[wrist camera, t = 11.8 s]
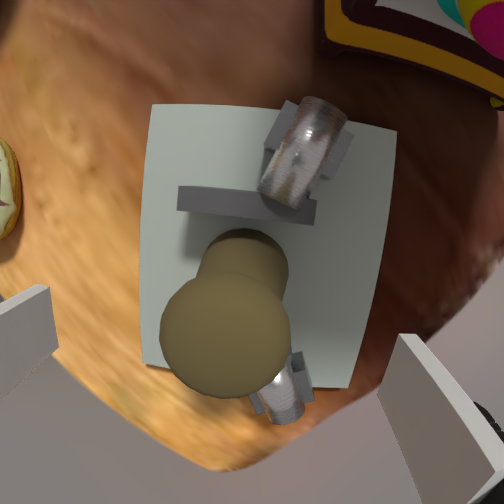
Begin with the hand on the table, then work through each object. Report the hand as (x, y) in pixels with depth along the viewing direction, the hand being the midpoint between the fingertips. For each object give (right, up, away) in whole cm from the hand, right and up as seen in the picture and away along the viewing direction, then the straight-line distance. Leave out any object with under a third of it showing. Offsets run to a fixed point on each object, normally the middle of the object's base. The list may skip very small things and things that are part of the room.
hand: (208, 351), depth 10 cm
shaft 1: (+4, +9, +9) cm, 14 cm away
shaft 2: (+3, -5, +12) cm, 14 cm away
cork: (+1, +2, +11) cm, 11 cm away
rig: (+2, +3, +12) cm, 12 cm away
